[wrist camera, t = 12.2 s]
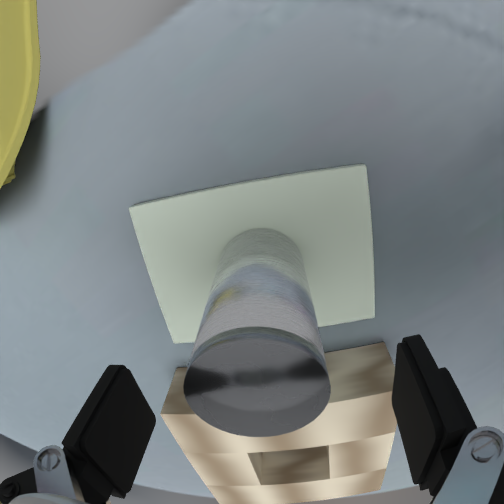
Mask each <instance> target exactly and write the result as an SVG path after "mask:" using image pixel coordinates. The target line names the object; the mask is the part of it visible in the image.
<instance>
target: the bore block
mask: <svg viewBox="0 0 504 504" xmlns="http://www.w3.org/2000/svg"><path fill="white" fill-rule="evenodd" d="M324 355H325V360H326V365H327V370H328V375H329V380H330V385H331V394H330V399H329V401H328V404H327V406H326V407H325V409H324V410H323V412H322V413H321V414H320V415H319V416H318V417H317V418H316V419H315V420H313V421H312V422H311V423H309V424H308V425H306V426H304V427H302V428H300V429H298V430H295V431H293V432H290V433H287V434H282V435H278V436H271V437H247V436H240V435H235V434H231V433H228V432H225V431H222V430H219V429H217V428H215V427H213V426H211V425H209V424H208V423H206V422H205V421H203V420H202V419H201V418H199V417H198V416H197V415H196V414H195V413H194V412H193V410H192V409H191V408H190V406H189V405H188V403H187V401H186V399H185V395H184V389H183V385H184V379H185V375H186V372H187V368H188V367H181V368H177V369H176V372H175V374H174V377H173V380H172V383H171V385H170V388H169V391H168V394H167V397H166V399H165V402H164V405H163V408H162V411H161V413H160V414H161V416H162V418H163V419H164V421H165V423H166V425H167V426H168V428H169V430H170V431H171V433H172V434H173V436H174V438H175V439H176V441H177V443H178V444H179V446H180V447H181V449H182V450H183V452H184V454H185V455H186V457H187V458H188V460H189V461H190V463H191V464H192V466H193V467H194V469H195V470H196V472H197V473H198V474H199V476H200V477H201V479H202V480H203V482H204V483H205V484H206V486H207V487H208V489H209V490H210V491H211V493H212V494H213V495H214V497H215V498H216V499H217V501H218V502H219V503H220V504H286V503H299V502H309V501H318V500H325V499H333V498H339V497H346V496H351V495H357V494H362V493H367V492H372V491H376V490H380V488H381V485H382V482H383V478H384V475H385V471H386V467H387V464H388V460H389V456H390V452H391V448H392V444H393V439H394V435H395V430H396V426H397V420H396V417H395V414H394V410H393V407H392V390H393V382H394V374H395V366H394V364H393V362H392V359H391V357H390V355H389V352H388V350H387V348H386V345H385V343H384V342H381V343H376V344H371V345H366V346H361V347H356V348H350V349H345V350H339V351H333V352H327V353H324Z"/></svg>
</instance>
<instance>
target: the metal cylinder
mask: <svg viewBox="0 0 504 504" xmlns="http://www.w3.org/2000/svg"><path fill="white" fill-rule="evenodd" d="M183 389H184V395H185V399H186V401H187V403H188V405H189V406H190V408H191V409H192V410H193V412H194V413H195V414H196V415H197V416H198V417H199V418H201V419H202V420H203V421H205V422H206V423H208V424H209V425H211V426H213V427H215V428H217V429H219V430H222V431H225V432H228V433H231V434H235V435H240V436H247V437H271V436H278V435H282V434H287V433H290V432H293V431H295V430H298V429H300V428H302V427H304V426H306V425H308V424H309V423H311V422H312V421H313V420H315V419H316V418H317V417H318V416H319V415H320V414H321V413H322V412H323V410H324V409H325V407H326V406H327V404H328V401H329V399H330V394H331V385H330V380H329V375H328V370H327V365H326V360H325V355H324V351H323V346H322V341H321V337H320V332H319V327H318V323H317V318H316V314H315V309H314V305H313V301H312V296H311V292H310V288H309V283H308V279H307V275H306V271H305V267H304V262H303V258H302V255H301V252H300V250H299V248H298V247H297V245H296V244H295V243H294V242H293V241H292V240H291V239H290V238H289V237H287V236H286V235H285V234H283V233H281V232H278V231H276V230H272V229H266V228H256V229H250V230H247V231H244V232H242V233H240V234H238V235H236V236H235V237H234V238H232V239H231V240H230V241H229V242H228V244H227V245H226V246H225V248H224V250H223V252H222V254H221V257H220V260H219V264H218V267H217V270H216V273H215V277H214V280H213V283H212V286H211V290H210V293H209V296H208V300H207V303H206V306H205V310H204V313H203V316H202V320H201V323H200V327H199V330H198V333H197V337H196V340H195V344H194V347H193V351H192V354H191V358H190V361H189V365H188V368H187V372H186V375H185V379H184V385H183Z"/></svg>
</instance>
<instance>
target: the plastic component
mask: <svg viewBox="0 0 504 504" xmlns="http://www.w3.org/2000/svg"><path fill="white" fill-rule="evenodd" d="M39 75H40V48H39V37H38V24H37V2H36V0H0V189H1V187H2V185H5V184H8V183H10V182H11V180H12V179H15V173H14V165H15V159H16V157H17V155H18V152H19V150H20V147H21V145H22V143H23V140H24V137H25V135H26V132H27V129H28V127H29V124H30V120H31V116H32V113H33V110H34V106H35V102H36V96H37V90H38V85H39Z"/></svg>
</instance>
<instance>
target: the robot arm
mask: <svg viewBox="0 0 504 504" xmlns="http://www.w3.org/2000/svg"><path fill="white" fill-rule="evenodd" d="M392 407H393V410H394V414H395V417H396V420H397V424H398V427H399V431H400V434H401V438H402V441H403V445H404V449H405V453H406V456H407V460H408V464H409V468H410V472H411V476H412V480H413V483H414V484H419V486H420V490H425V489H428V488H429V492H430V495H432V496H433V498H432V500H431V502H430V503H429V504H504V433H502V432H501V431H500V430H499V429H496V428H494V427H488V426H485V427H479V428H477V426H476V424H475V422H474V420H473V418H472V416H471V414H470V412H469V410H468V408H467V406H466V403H465V401H464V399H463V397H462V396H461V394H460V392H459V390H458V388H457V386H456V384H455V382H454V380H453V378H452V376H451V374H450V373H449V371H448V370H447V369H446V368H445V367H444V368H440V369H439V368H438V366H437V365H436V363H435V361H434V359H433V357H432V355H431V353H430V351H429V349H428V348H427V346H426V344H425V342H424V340H423V339H422V337H421V335H419V334H418V335H414V336H409V337H404V338H403V340H402V343H398V345H397V354H396V364H395V374H394V382H393V390H392ZM155 424H156V418H155V415H154V413H153V411H152V410H151V408H150V406H149V404H148V403H147V401H146V399H145V397H144V396H143V394H142V392H141V390H140V388H139V386H138V384H137V383H136V381H135V379H134V377H133V375H132V373H131V371H130V370H129V369H127V368H126V367H125V366H124V365H109V366H108V367H107V368H106V370H105V372H104V373H103V375H102V376H101V378H100V379H99V381H98V383H97V384H96V386H95V387H94V389H93V391H92V392H91V394H90V396H89V397H88V399H87V400H86V402H85V404H84V405H83V407H82V409H81V410H80V412H79V414H78V415H77V417H76V419H75V420H74V422H73V424H72V425H71V427H70V429H69V431H68V432H67V434H66V436H65V437H64V439H63V441H62V444H63V446H64V448H63V449H61V448H60V447H58V446H56V445H50V446H46V447H44V448H42V449H41V450H40V451H39V452H38V453H37V454H36V456H35V458H34V467H33V468H31V469H28V470H26V471H24V472H21V473H19V474H17V475H14V476H12V477H9V478H7V479H5V480H4V481H3V482H2V483H1V484H0V504H111V502H110V500H109V497H110V495H112V496H115V497H119V498H123V499H124V498H125V496H126V493H128V492H129V491H130V490H131V488H132V485H133V482H134V480H135V477H136V474H137V471H138V469H139V466H140V463H141V461H142V458H143V455H144V453H145V450H146V448H147V445H148V442H149V440H150V437H151V434H152V432H153V429H154V427H155Z"/></svg>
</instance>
